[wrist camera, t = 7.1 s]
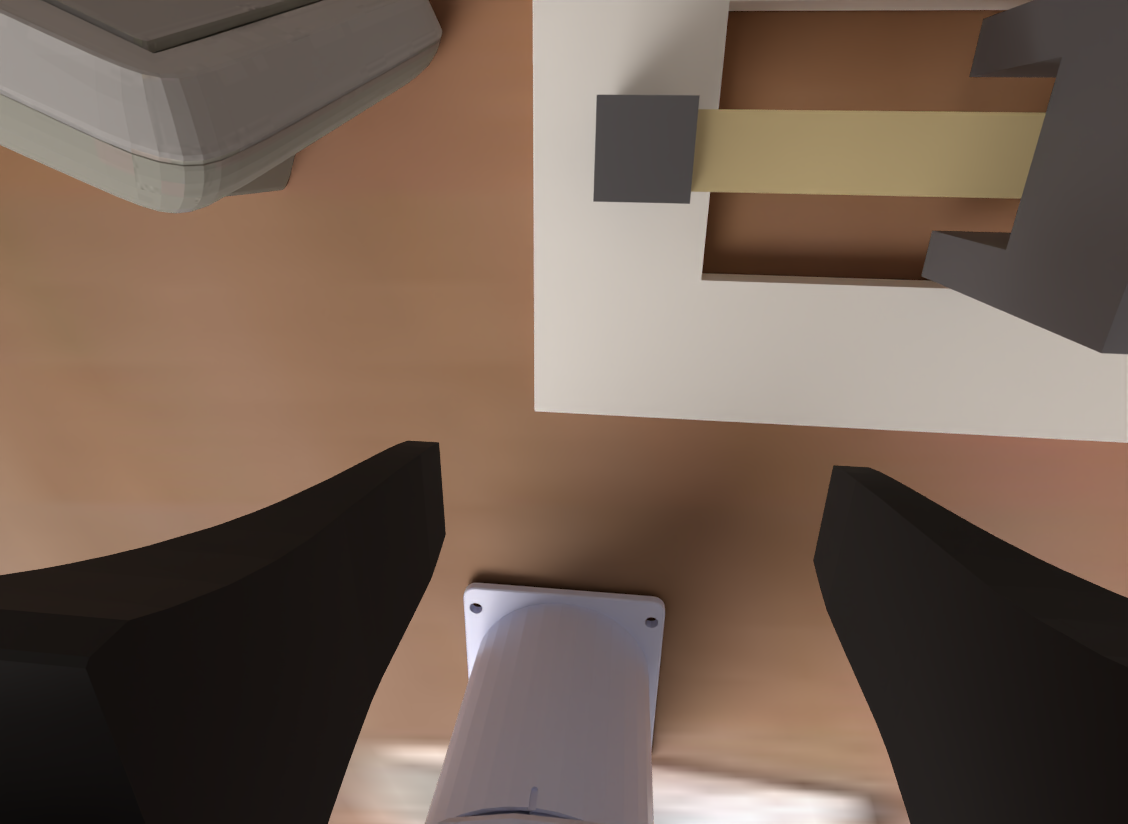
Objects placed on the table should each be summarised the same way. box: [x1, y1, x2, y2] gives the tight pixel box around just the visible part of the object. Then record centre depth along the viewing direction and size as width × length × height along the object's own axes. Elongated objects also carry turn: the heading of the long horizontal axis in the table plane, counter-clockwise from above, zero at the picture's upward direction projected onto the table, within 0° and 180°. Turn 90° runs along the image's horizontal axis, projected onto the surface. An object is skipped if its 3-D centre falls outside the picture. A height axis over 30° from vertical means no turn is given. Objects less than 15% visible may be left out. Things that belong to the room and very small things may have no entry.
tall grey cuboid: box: [921, 0, 1128, 354], centre depth 12 cm, size 6×2×7 cm, turn 179°
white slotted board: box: [533, 0, 1128, 443], centre depth 15 cm, size 14×20×6 cm
